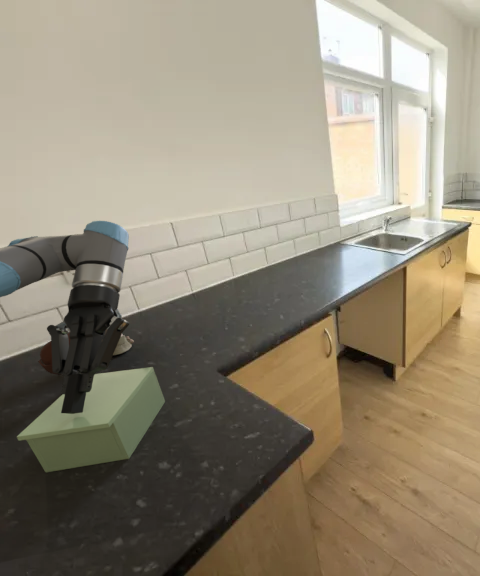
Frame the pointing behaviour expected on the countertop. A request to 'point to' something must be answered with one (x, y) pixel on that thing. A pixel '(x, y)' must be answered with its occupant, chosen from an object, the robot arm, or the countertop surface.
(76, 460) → the chest
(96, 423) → the chest lid
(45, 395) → the countertop surface
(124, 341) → the figurine
